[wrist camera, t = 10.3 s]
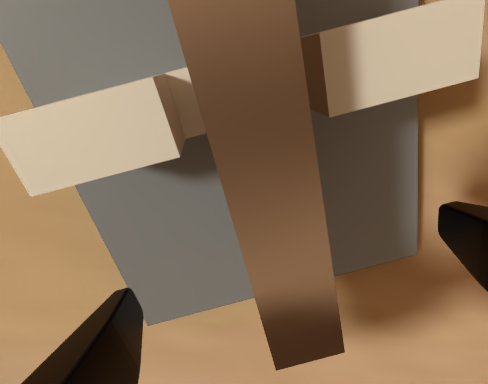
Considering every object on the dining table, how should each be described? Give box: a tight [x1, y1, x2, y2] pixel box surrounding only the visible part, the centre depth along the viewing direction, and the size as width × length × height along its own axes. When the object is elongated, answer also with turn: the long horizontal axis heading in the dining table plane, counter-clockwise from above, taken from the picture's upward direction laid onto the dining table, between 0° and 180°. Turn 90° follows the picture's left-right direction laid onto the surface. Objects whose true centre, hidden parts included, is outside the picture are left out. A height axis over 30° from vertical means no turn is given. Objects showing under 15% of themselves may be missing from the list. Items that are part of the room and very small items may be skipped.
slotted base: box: [0, 0, 485, 326], centre depth 10 cm, size 20×14×5 cm
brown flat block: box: [168, 0, 345, 370], centre depth 8 cm, size 14×2×6 cm, turn 13°
